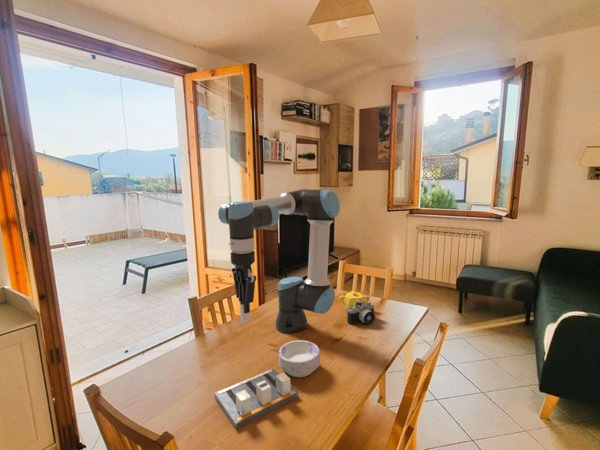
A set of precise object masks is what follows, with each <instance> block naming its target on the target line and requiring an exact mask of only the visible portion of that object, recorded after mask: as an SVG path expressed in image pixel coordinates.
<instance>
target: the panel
mask: <svg viewBox="0 0 600 450" xmlns="http://www.w3.org/2000/svg"><path fill="white" fill-rule="evenodd" d="M264 380H265V381H266V382H267V383H268V384H269V385H270V386H271V402H269V403H267V404H265V405H262V404H261V403H260V402H259V401H258V399H257V398H256V384H257V383H259V382H261V381H264ZM299 397H300V392H299V391H298V390H297V389H296V388H295V387H294V386H293V385H291V378H290V377H289V375H287V374H286V372H281V373H279V372H278V371H277V370H275V369H274V368H271V369H268V370H265V371H264V372H261V373H259V374H256V375H255V376H252V377H249V378H247V379H245V380H242V381H240V382H237V383H235V384H233V385H231V386H228V387H225V388H224V389H220V390H219V391H215V392H214V399H215V400H216V402H217V403H218V405H219V406H220V407H221V410H223V412H224V413H225V415H226V417H227V418H228V420H229V421H230V423H231V424H232V426H233V427H234V429H235V430H238V429H240V428H242V427H244V426H246V425H248V424H250V423H253V421H256V420H257V419H260V418H262V417H263V416H265V415H267V414H269V413H271V412H273V411H275V410H277V409H280V408H282V406H285V405H287V404H289V403H290V402H292V401H293V402H294V401H295V400H296V399H298V398H299Z"/></svg>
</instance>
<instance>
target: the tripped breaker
mask: <svg viewBox="0 0 600 450" xmlns="http://www.w3.org/2000/svg"><path fill="white" fill-rule="evenodd" d="M256 398H257V399H258V401H259V402H260V403H261V404H262V405H265V404H267V403H269V402H271V386H270V385H269V384H268V383H267V382H266V381H265V380H264V381H261V382H259V383H257V384H256Z"/></svg>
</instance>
